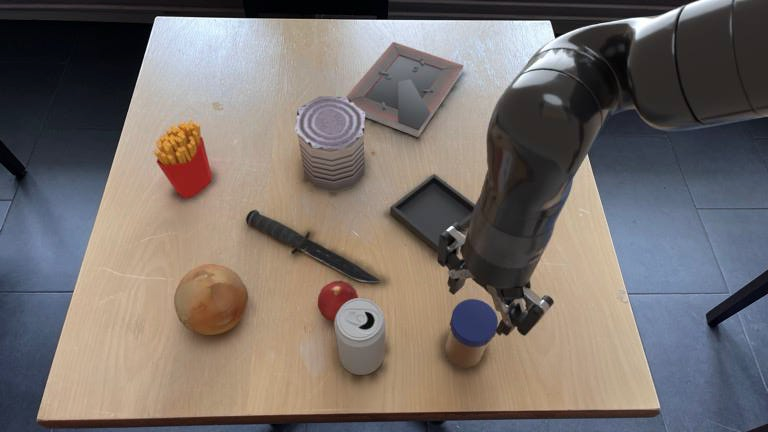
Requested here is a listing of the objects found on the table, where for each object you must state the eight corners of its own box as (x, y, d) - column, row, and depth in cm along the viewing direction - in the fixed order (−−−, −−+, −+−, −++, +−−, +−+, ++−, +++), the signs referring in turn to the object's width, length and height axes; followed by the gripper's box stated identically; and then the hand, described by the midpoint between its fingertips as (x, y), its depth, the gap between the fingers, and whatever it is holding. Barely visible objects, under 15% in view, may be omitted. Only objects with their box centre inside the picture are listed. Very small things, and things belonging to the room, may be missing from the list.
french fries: (185, 204, 88) (162, 156, 79) (169, 193, 90) (144, 144, 80) (221, 173, 93) (203, 124, 83) (205, 163, 94) (186, 114, 84)
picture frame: (418, 139, 98) (462, 74, 110) (418, 129, 96) (463, 64, 108) (342, 110, 103) (392, 50, 114) (342, 100, 101) (393, 40, 112)
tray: (479, 216, 88) (481, 209, 86) (436, 253, 84) (437, 246, 82) (432, 180, 92) (434, 173, 91) (390, 214, 88) (390, 206, 86)
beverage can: (375, 383, 71) (376, 349, 61) (332, 368, 72) (325, 333, 62) (390, 341, 75) (392, 303, 65) (348, 327, 76) (344, 288, 66)
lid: (504, 326, 67) (507, 320, 66) (475, 356, 65) (477, 350, 63) (470, 297, 70) (472, 290, 68) (440, 325, 67) (442, 318, 66)
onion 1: (171, 330, 75) (147, 298, 67) (211, 275, 80) (193, 239, 72) (227, 357, 73) (209, 327, 65) (265, 299, 78) (253, 265, 70)
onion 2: (330, 290, 79) (326, 263, 73) (365, 302, 78) (364, 276, 72) (313, 322, 76) (307, 297, 70) (349, 336, 75) (347, 312, 68)
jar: (489, 350, 74) (503, 321, 66) (465, 375, 72) (476, 348, 64) (461, 325, 76) (471, 295, 68) (437, 349, 74) (445, 320, 66)
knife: (242, 225, 85) (245, 210, 84) (261, 217, 89) (264, 204, 88) (365, 299, 77) (371, 284, 76) (380, 287, 81) (385, 273, 80)
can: (365, 144, 97) (364, 94, 88) (367, 191, 91) (366, 143, 81) (303, 146, 97) (296, 96, 87) (301, 194, 90) (293, 145, 80)
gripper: (593, 256, 49) (545, 328, 62) (476, 171, 55) (455, 253, 68) (545, 307, 46) (505, 371, 59) (427, 210, 51) (415, 289, 65)
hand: (478, 308), depth 64 cm, fingers open, 7 cm apart
